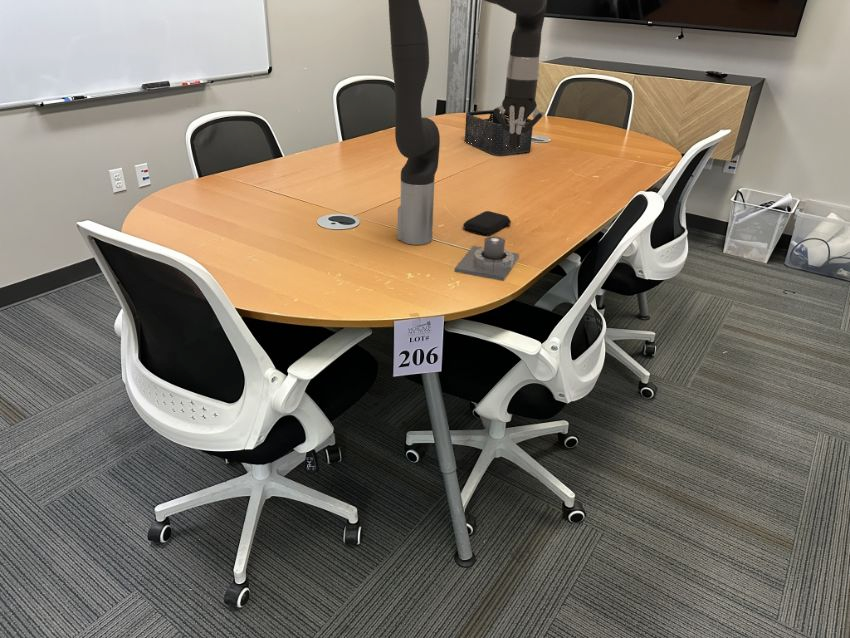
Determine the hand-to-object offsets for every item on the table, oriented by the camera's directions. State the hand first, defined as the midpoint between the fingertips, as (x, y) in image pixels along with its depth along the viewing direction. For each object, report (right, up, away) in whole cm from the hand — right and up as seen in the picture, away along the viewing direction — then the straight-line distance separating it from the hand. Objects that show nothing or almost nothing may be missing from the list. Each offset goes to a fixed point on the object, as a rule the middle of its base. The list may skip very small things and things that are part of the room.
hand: (514, 148), depth 156 cm
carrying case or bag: (-4, -16, +29) cm, 34 cm away
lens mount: (-6, -29, +5) cm, 30 cm away
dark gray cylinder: (-5, -29, +4) cm, 29 cm away
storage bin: (+9, +32, +114) cm, 119 cm away
